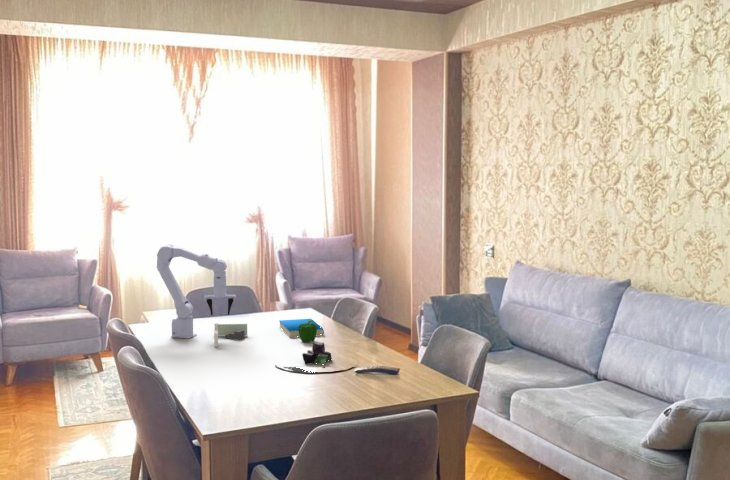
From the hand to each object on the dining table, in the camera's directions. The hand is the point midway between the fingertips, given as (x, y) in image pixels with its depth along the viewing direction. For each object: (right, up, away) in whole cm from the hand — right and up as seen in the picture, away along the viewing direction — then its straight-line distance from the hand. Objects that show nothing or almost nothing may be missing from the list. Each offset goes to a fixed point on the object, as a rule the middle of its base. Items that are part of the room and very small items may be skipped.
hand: (220, 314), depth 351 cm
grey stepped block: (+7, -11, -3) cm, 13 cm away
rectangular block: (-1, -11, -6) cm, 13 cm away
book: (+37, -10, +13) cm, 41 cm away
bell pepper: (+42, -12, -9) cm, 44 cm away
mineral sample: (+48, -16, -47) cm, 69 cm away
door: (+6, -10, +2) cm, 12 cm away
